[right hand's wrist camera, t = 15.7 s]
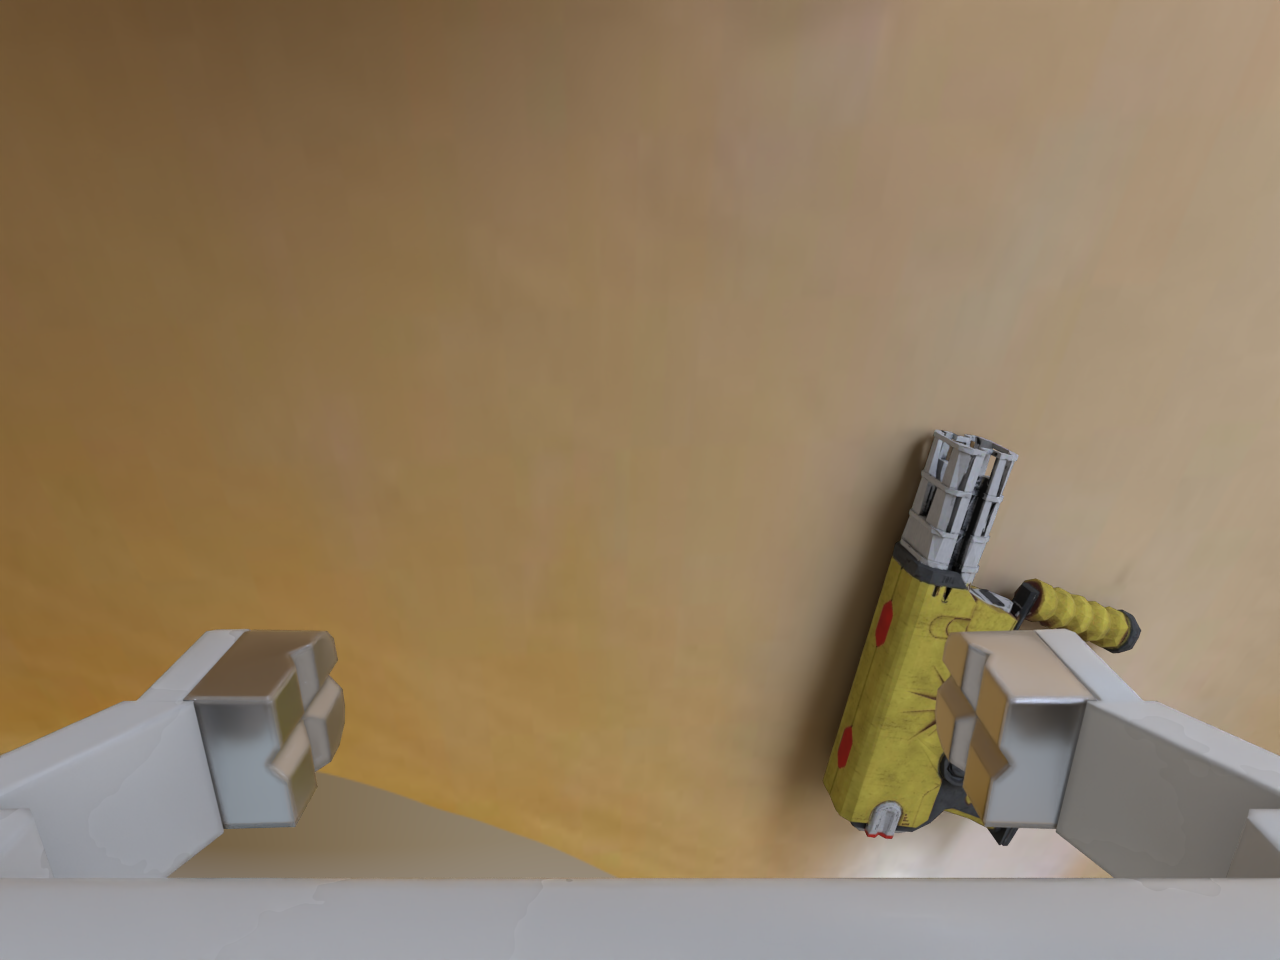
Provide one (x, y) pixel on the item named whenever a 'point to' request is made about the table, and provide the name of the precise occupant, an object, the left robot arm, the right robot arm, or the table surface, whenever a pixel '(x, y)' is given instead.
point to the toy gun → (938, 645)
